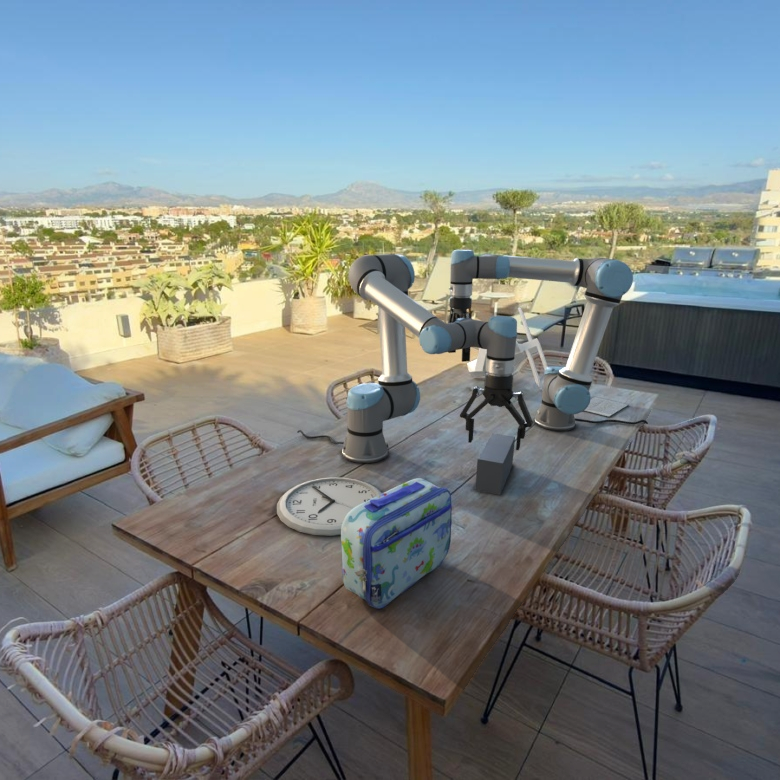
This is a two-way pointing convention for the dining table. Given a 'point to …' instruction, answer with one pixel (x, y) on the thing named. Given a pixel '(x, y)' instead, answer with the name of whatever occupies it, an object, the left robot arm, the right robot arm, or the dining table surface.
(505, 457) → the box
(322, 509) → the wall clock
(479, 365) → the white plastic object
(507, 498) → the dining table surface
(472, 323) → the left robot arm
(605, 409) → the invitation card
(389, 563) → the lunch box
